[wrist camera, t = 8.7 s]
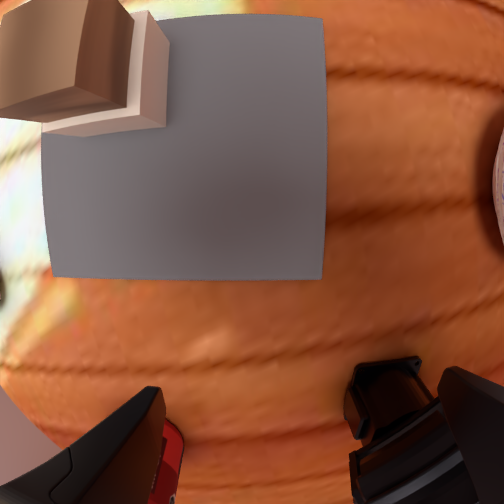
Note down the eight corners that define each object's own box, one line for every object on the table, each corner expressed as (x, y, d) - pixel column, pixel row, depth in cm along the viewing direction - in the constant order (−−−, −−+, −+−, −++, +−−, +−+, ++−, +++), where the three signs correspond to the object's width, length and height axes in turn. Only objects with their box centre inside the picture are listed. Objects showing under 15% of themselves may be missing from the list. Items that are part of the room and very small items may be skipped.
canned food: (146, 460, 27) (125, 538, 16) (97, 415, 25) (58, 496, 14) (201, 448, 26) (189, 539, 15) (151, 398, 24) (117, 498, 13)
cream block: (169, 42, 16) (147, 10, 11) (166, 126, 17) (139, 114, 13) (89, 57, 16) (52, 36, 11) (84, 137, 17) (41, 132, 13)
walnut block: (134, 20, 11) (95, -26, 6) (126, 107, 12) (74, 85, 8) (55, 41, 11) (3, 15, 6) (46, 123, 12) (-17, 116, 8)
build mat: (320, 22, 16) (322, 18, 15) (319, 276, 21) (321, 279, 20) (53, 50, 16) (49, 48, 15) (57, 274, 21) (53, 276, 20)
